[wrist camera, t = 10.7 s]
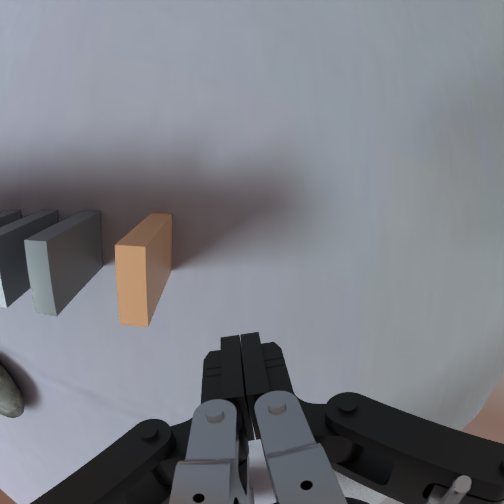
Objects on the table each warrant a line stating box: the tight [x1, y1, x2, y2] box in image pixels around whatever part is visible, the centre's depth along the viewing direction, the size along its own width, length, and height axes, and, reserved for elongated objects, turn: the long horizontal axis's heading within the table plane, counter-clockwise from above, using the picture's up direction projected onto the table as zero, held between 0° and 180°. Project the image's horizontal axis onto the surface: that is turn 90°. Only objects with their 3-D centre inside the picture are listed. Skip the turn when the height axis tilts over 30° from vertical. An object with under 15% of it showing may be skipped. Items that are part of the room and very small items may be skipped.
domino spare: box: [115, 213, 173, 327], centre depth 22 cm, size 2×5×10 cm, turn 175°
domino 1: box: [24, 211, 103, 316], centre depth 21 cm, size 2×5×10 cm, turn 175°
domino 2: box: [0, 210, 58, 308], centre depth 21 cm, size 2×5×10 cm, turn 175°
